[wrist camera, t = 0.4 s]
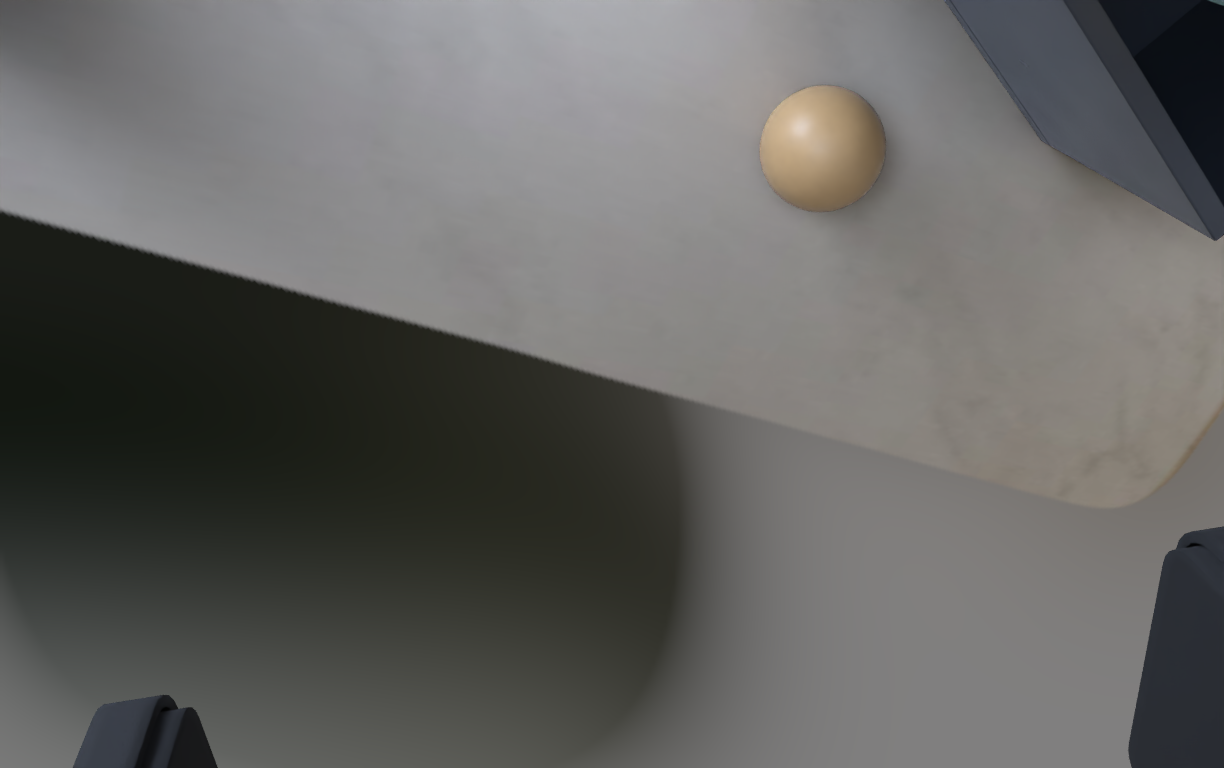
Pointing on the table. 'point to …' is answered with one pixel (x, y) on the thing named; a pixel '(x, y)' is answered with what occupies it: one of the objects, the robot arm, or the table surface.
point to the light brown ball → (822, 148)
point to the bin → (1119, 90)
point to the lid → (1218, 2)
